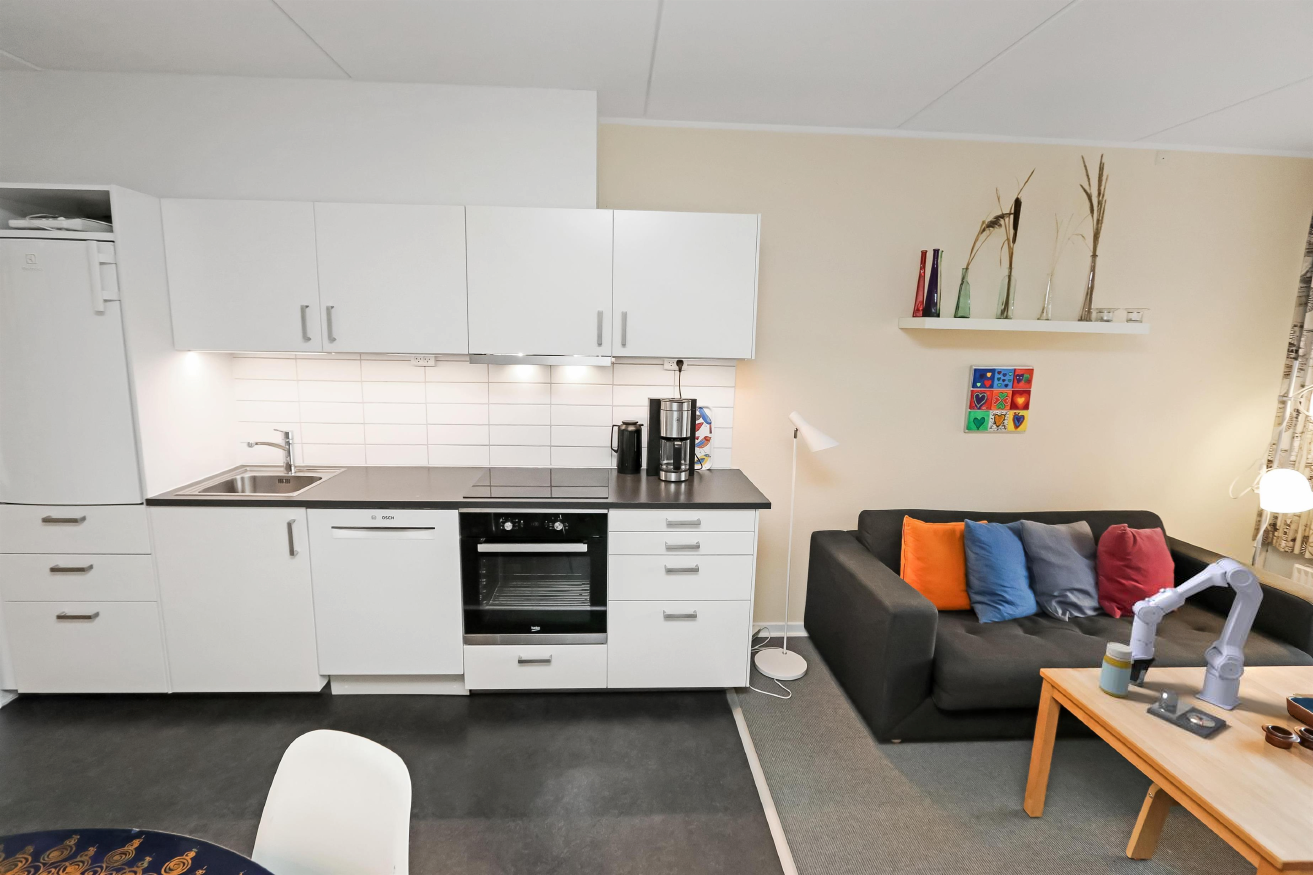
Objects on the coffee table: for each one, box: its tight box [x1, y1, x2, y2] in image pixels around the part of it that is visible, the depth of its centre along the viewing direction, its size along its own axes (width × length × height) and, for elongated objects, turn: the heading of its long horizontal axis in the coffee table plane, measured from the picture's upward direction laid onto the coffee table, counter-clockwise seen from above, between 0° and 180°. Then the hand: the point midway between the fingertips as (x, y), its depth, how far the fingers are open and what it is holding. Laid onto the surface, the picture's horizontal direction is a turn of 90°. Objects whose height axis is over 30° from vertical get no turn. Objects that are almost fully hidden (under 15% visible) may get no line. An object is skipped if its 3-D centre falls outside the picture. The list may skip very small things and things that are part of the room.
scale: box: [1146, 698, 1227, 739], centre depth 175 cm, size 14×14×2 cm
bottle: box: [1099, 641, 1132, 699], centre depth 186 cm, size 7×7×15 cm
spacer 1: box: [1129, 668, 1146, 687], centre depth 193 cm, size 4×4×5 cm
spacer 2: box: [1158, 688, 1180, 713], centre depth 175 cm, size 4×4×5 cm
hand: (1136, 678), depth 193 cm, fingers closed on spacer 1, 4 cm apart
